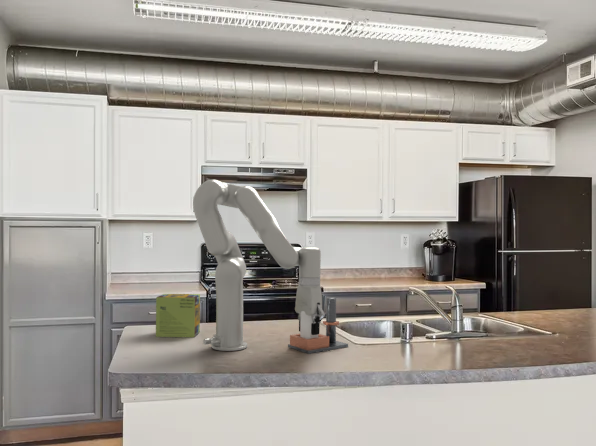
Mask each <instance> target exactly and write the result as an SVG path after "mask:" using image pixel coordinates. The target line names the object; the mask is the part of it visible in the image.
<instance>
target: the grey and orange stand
mask: <svg viewBox="0 0 596 446" xmlns="http://www.w3.org/2000/svg"><path fill="white" fill-rule="evenodd" d="M325 299H326V301H325V304H326V305H325V320H322V325H323V326H325V334H322V333H319V334H318V337H317V338H311V339H306V338H303V337H300V333H295V334H290V335H289V344H287V348H290V349H293V350H296V351H299V352H301V353H306V354H308V355H311V354H315V353H321V352H326V351H332V350H339V349H344V348H349V343H346V342H342V341H338V340H337V326H339V325H340V321H339V320H337V297H326V298H325Z"/></svg>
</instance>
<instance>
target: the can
mask: <svg viewBox="0 0 596 446" xmlns="http://www.w3.org/2000/svg"><path fill="white" fill-rule="evenodd" d="M315 314H317V312H315ZM316 318H317V316H315V319H316ZM312 323H313V321H312V317H311V316H308V315H306V314H305V312H304V311H301V314H300V331H299V334H300V337H303V338H306V339H311V338H317V337H318V334H317V335H312V334H311V324H312Z"/></svg>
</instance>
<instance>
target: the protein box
mask: <svg viewBox="0 0 596 446" xmlns="http://www.w3.org/2000/svg"><path fill="white" fill-rule="evenodd" d="M155 300H156V301H155V337H156V338H195V337H196V336H197V335H198V334H199V333H201V293H163V294H160V295H158V296H157V297H156V299H155Z"/></svg>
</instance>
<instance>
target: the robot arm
mask: <svg viewBox="0 0 596 446" xmlns="http://www.w3.org/2000/svg"><path fill="white" fill-rule="evenodd" d="M218 205H219V206H225V207H228V208H234V209H238V210H239V211H240V212H241V214H242V215H243V216H244V218H245V219H246V220H247V222H248V223H249V225H250V226H251V228H252V229H253V230H254V232H255V233H256V235H257V236H258V238H259V239H260V240H261V242H262V243H263V245H264V246H265V247H266V249H267V250H268V252H269V254H270V255H271V256H272V257H273V259H274V260H275V262H276V263H277V264H278V265H279V266H280V267H281V268H283V269H284V270H285V269H286V270H289V269H293V268H295V267H298V268H299V269H298V273H299V275H298V276H299V277H298V285H297V289H296V296H295V307H294V310H295V313H296V315H297V320H298V332H300V314H301V311H304V312H305V314H306V315H308V316H311V317H312V321H313V323H312V324H311V334H312V335H317V334H320V327H321V326H320V324H321V323H322V321H323V318H324V317H325V316H326V312H325V311H324V310H323V296H322V295H323V294H322V287H321V258H322V257H321V256H322V254H321V249H320V248H319V247H314V246H312V247H311V246H306V247H305V246H304V247H299V246H292V244H291V243H290V241H289V240H288V239H287V237H286V236H285V234H284V233H283V231H282V230H281V228H280V226H279V223H278V220H277V219H276V217H275V215H273V213H272V212H271V210H270V209H269V208H268V207H267V205H266V203H265V202H264V201H263V199H262V198H261V197H260V194H259V192H258V191H257V189H255V188H254V187H252V186H249V185H245V186H243V185H237V184H232V183H228V182H223V181H220V180H219V179H207V180H205V181H204V182H203V183H202V184H200V185H199V187H198V188H197V189H196V191H195V193H194V196H193V200H192V206H193V208H192V209H193V212H194V216H195V219H196V221H197V224H198V227H199V230H200V233H201V235H202V238H203V240H204V243H205V246H206V249H207V251H208V252H209V253H210V255H212V256H214V257H215V261H216V262H217V266H216V269H215V274H214V280H215V295H216V296H215V297H216V299H215V305H216V306H215V308H216V309H215V312H216V316H215V317H216V318H215V319H216V320H215V326H216V327H215V334H213V335H212V337H211V338H209V337H208V338H203V341H202V342H203V343H202V344H203V345H205V346H206V345H211V348H212V349H213V350H216V351H221V352H222V351H223V352H231V351H233V352H235V351H241V350H245V349H247V348H248V343H247V341H244V284H243V283H244V281H243V279H244V278H245V276H246V273H247V265H246V262H245V259H244V257H243V255H242V252H241V249H240V246H239V244H238V242H237V240H236V237H235V236H234V234H233V233H232V232H230V231H229V230H227V228H226V226H225V225H226V224H225V223H224V219H223V218H222V216H221V213H220V211H219V208H218ZM315 312H317V314H315ZM315 316H317V318H316V319H315Z"/></svg>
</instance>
